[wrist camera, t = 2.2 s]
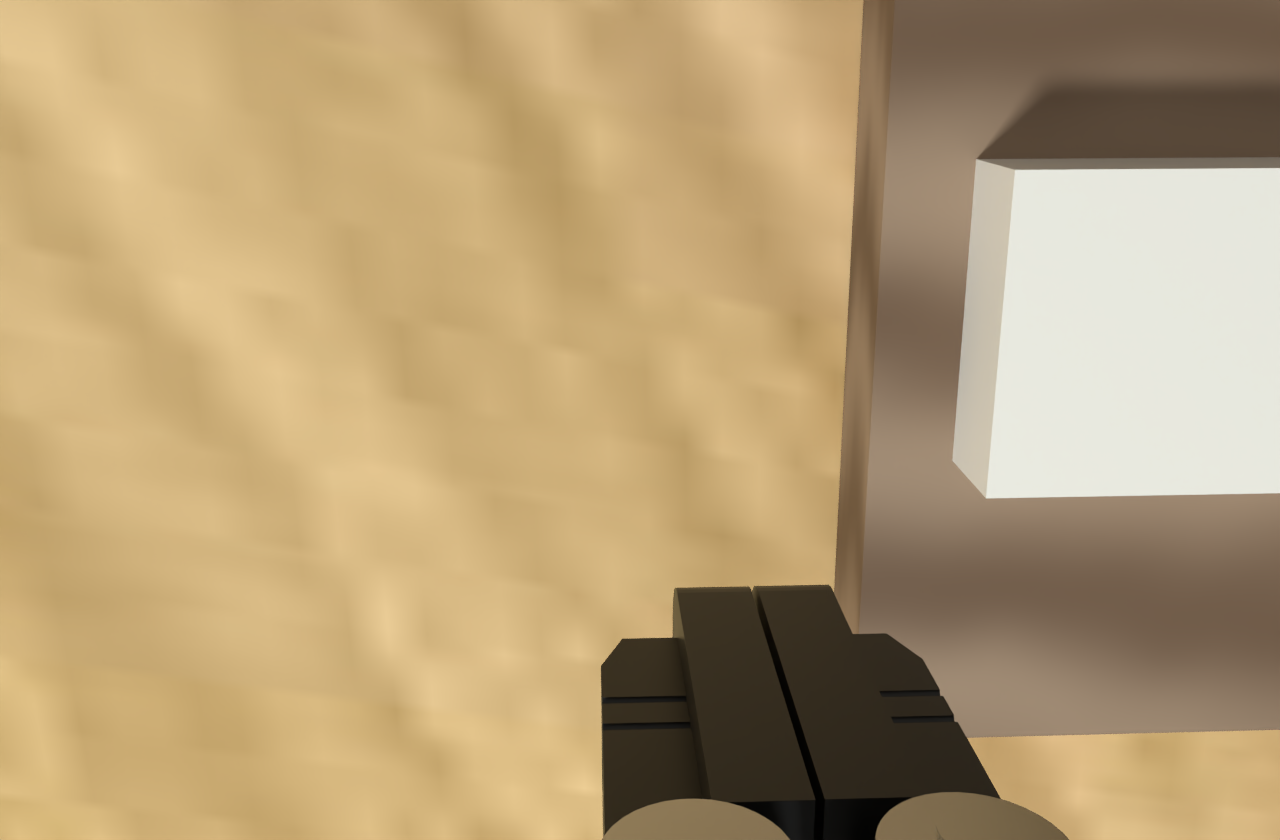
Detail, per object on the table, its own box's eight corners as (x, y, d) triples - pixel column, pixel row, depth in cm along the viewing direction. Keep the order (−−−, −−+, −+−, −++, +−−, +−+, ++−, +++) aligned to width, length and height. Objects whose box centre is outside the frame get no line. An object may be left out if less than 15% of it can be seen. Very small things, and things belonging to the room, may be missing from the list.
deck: (873, -194, 27) (907, -223, 24) (1479, -190, 27) (1584, -218, 24) (829, 681, 33) (852, 740, 30) (1320, 669, 34) (1388, 726, 31)
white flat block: (975, 158, 26) (1015, 169, 24) (1463, 155, 27) (1549, 166, 24) (952, 460, 28) (985, 498, 26) (1404, 453, 29) (1479, 489, 26)
